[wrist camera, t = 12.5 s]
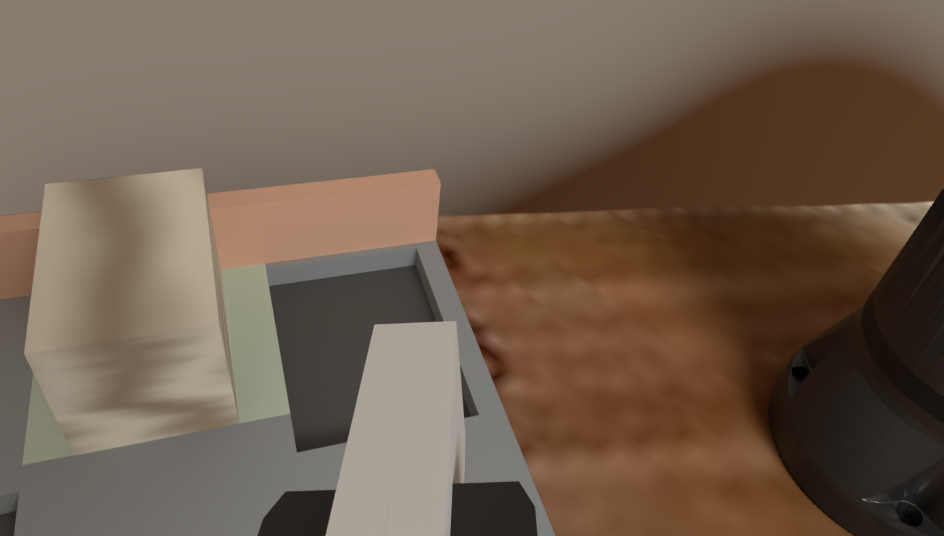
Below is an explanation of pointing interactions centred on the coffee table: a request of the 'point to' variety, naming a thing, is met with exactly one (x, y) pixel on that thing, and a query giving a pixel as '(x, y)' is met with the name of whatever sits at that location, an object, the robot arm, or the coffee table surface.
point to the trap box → (255, 367)
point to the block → (130, 311)
